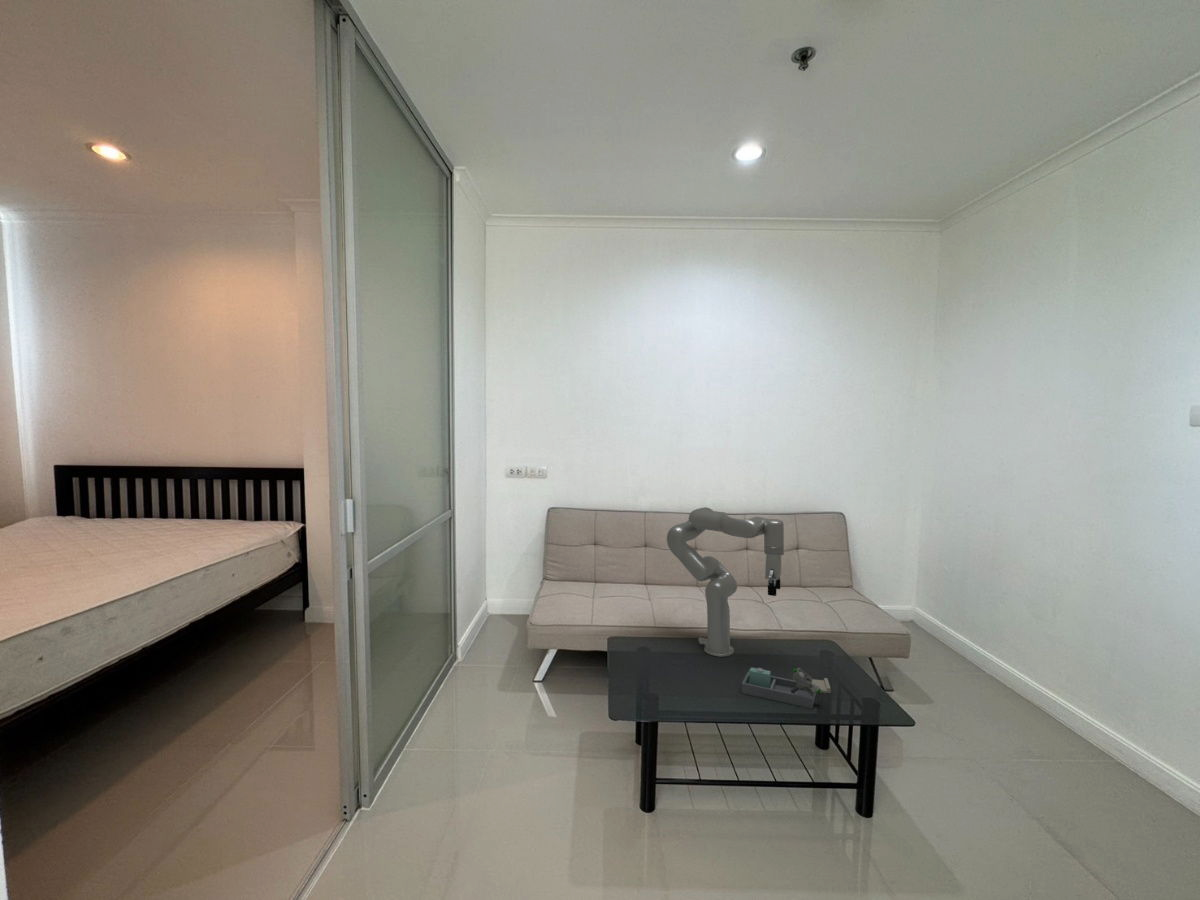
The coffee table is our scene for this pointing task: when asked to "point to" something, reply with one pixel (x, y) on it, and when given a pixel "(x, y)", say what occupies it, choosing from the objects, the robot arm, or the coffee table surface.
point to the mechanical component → (803, 682)
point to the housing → (775, 688)
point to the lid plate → (822, 685)
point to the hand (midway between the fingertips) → (774, 591)
